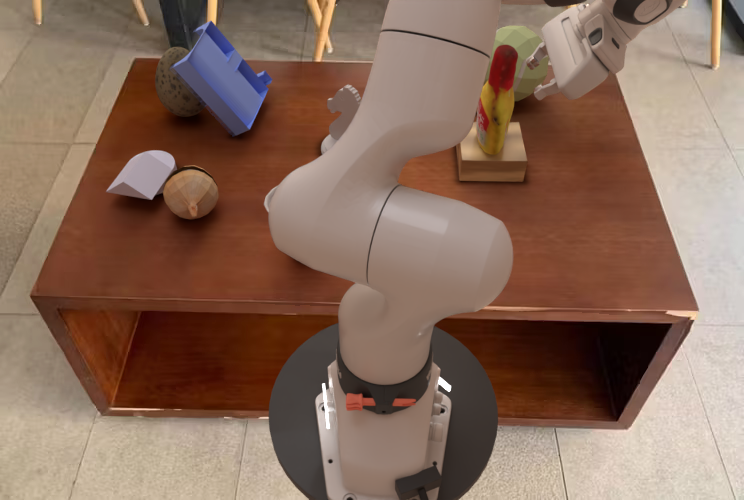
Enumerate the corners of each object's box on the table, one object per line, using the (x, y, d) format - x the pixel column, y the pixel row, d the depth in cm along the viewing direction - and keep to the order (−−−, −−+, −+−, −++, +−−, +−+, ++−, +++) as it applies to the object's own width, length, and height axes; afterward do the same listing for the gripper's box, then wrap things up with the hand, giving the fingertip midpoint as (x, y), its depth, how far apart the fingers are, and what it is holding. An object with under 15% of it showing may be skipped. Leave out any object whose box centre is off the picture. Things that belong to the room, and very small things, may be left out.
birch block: (523, 181, 127) (527, 161, 124) (459, 180, 128) (462, 160, 124) (515, 142, 136) (519, 122, 132) (455, 141, 136) (457, 121, 132)
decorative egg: (217, 124, 140) (204, 59, 129) (163, 131, 138) (146, 66, 127) (213, 95, 147) (200, 31, 136) (162, 101, 145) (146, 37, 134)
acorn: (197, 146, 122) (191, 171, 108) (230, 185, 126) (227, 214, 112) (157, 175, 123) (145, 203, 109) (190, 213, 127) (182, 245, 113)
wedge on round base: (156, 213, 121) (186, 167, 130) (146, 185, 116) (178, 139, 125) (111, 205, 123) (143, 160, 131) (99, 177, 118) (134, 133, 127)
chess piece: (342, 128, 139) (339, 64, 128) (380, 146, 135) (381, 81, 124) (310, 152, 133) (305, 87, 123) (349, 172, 129) (347, 106, 118)
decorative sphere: (535, 60, 129) (503, 122, 139) (573, 45, 138) (541, 104, 148) (477, 19, 134) (450, 82, 144) (518, 7, 143) (490, 67, 154)
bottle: (506, 162, 123) (524, 66, 109) (472, 159, 124) (485, 63, 110) (507, 124, 132) (524, 29, 117) (474, 121, 132) (487, 26, 118)
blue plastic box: (249, 129, 134) (224, 140, 138) (273, 79, 144) (248, 90, 148) (186, 60, 124) (161, 73, 128) (217, 10, 134) (192, 24, 138)
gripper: (578, -14, 117) (513, 37, 124) (604, 49, 103) (529, 102, 110) (598, 11, 120) (533, 59, 127) (625, 75, 106) (551, 125, 113)
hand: (531, 80), depth 118 cm, fingers open, 8 cm apart
